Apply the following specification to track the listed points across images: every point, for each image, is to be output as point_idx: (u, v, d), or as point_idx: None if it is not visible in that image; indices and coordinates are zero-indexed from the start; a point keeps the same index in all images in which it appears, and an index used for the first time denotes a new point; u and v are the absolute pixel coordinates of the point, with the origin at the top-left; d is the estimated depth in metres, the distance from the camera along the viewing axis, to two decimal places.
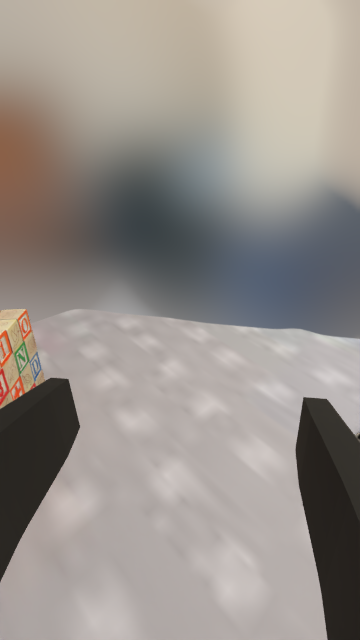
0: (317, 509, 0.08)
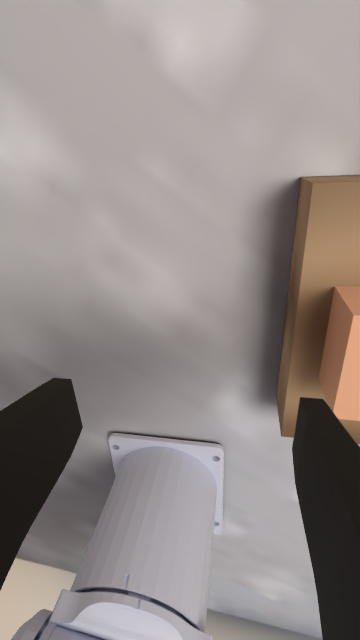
0: (313, 508, 0.08)
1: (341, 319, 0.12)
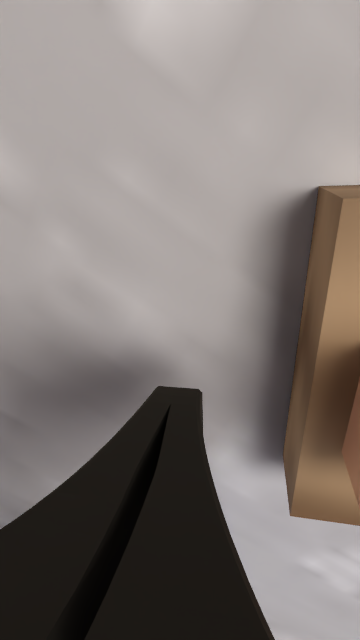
0: None
1: None
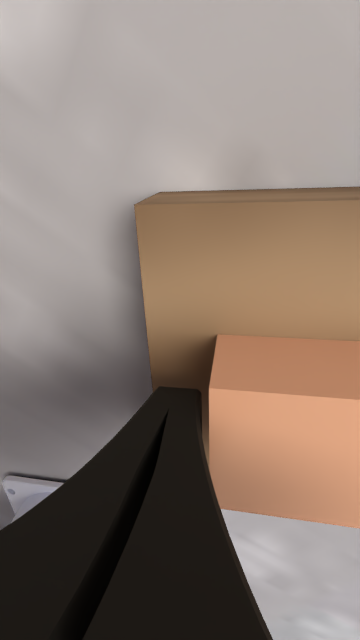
0: None
1: None
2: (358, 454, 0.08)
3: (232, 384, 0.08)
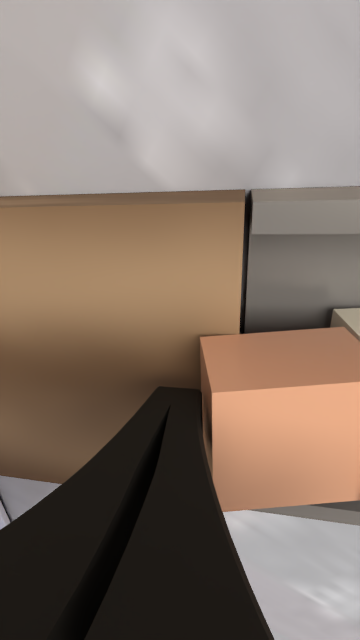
0: None
1: (206, 387, 0.09)
2: (351, 432, 0.08)
3: (233, 385, 0.08)
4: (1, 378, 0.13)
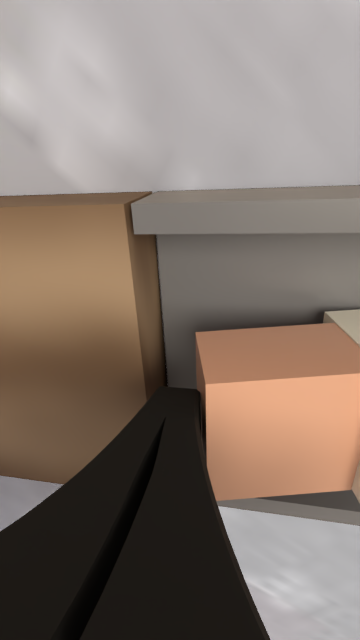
0: None
1: (201, 380, 0.09)
2: (339, 423, 0.09)
3: (226, 377, 0.08)
4: None
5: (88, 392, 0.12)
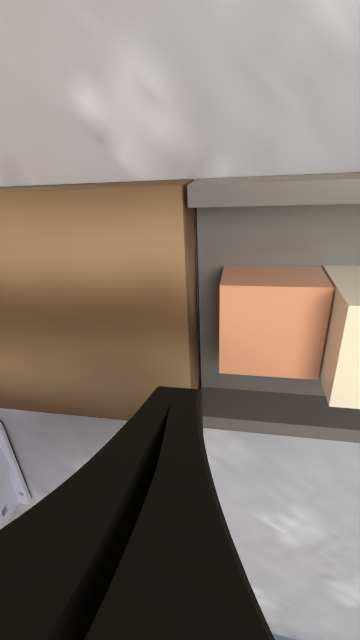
0: None
1: None
2: (306, 324, 0.14)
3: (233, 283, 0.14)
4: (15, 324, 0.17)
5: (142, 335, 0.16)
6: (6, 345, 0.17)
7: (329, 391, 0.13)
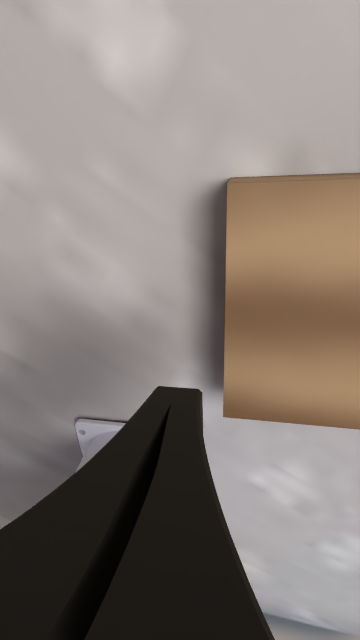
0: None
1: None
2: None
3: None
4: (294, 327, 0.15)
5: None
6: (271, 350, 0.16)
7: None
